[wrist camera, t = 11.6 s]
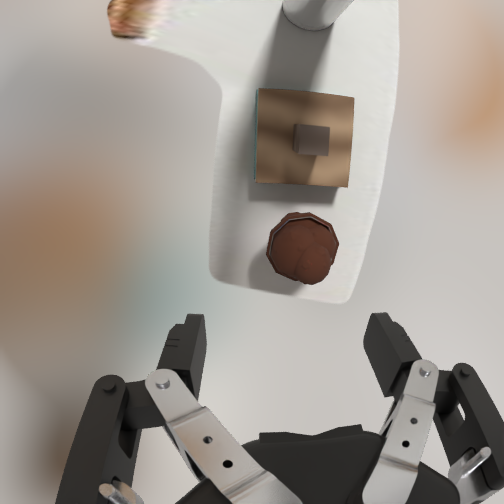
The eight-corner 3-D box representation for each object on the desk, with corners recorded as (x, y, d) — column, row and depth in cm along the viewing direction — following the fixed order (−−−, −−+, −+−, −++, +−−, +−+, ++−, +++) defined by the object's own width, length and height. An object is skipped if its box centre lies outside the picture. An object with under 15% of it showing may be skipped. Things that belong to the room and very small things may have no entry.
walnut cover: (258, 90, 40) (259, 82, 32) (347, 99, 40) (369, 94, 32) (255, 178, 46) (256, 191, 38) (341, 183, 47) (360, 197, 38)
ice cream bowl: (329, 202, 49) (358, 233, 36) (315, 258, 54) (334, 304, 40) (270, 191, 48) (278, 220, 35) (260, 250, 53) (262, 296, 40)
